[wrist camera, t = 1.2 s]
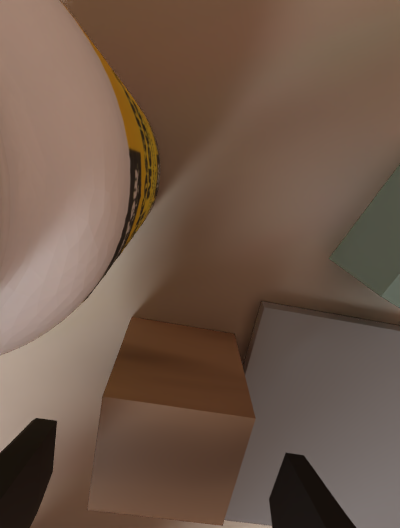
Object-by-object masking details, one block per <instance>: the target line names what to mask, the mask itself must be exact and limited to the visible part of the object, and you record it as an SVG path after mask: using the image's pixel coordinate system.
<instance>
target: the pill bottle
mask: <svg viewBox="0 0 400 528" xmlns="http://www.w3.org/2000/svg"><path fill="white" fill-rule="evenodd" d="M159 182H160V156H159V150H158V146H157V142H156V139H155V136H154V133H153V131H152V128H151V126H150V124H149V122H148V120H147V118H146V116H145V115H144V113H143V112H142V110H141V109H140V107H139V106H138V104H137V103H136V102H135V100H134V99H133V97H132V96H131V95H130V93H129V92H128V90H127V89H126V88H125V86H124V85H123V83H122V82H121V81H120V79H119V78H118V77H117V75H116V74H115V73H114V71H113V70H112V69H111V67H110V66H109V65H108V63H107V62H106V60H105V59H104V57H103V56H102V55H101V53H100V52H99V51H98V50H97V48H96V47H95V46H94V44H93V43H92V42H91V40H90V39H89V38H88V36H87V35H86V33H85V32H84V31H83V29H82V28H81V27H80V25H79V24H78V23H77V21H76V20H75V19H74V17H73V16H72V15H71V13H70V12H69V11H68V10H67V8H66V7H65V6H64V5H63V4H62V2H61V1H60V0H0V355H2V354H5V353H8V352H10V351H12V350H15V349H17V348H20V347H22V346H24V345H26V344H28V343H30V342H32V341H34V340H35V339H37V338H38V337H40V336H42V335H43V334H45V333H46V332H48V331H49V330H51V329H52V328H53V327H55V326H56V325H57V324H59V323H60V322H61V321H63V320H64V319H65V318H66V317H67V316H69V315H70V314H71V313H72V312H73V311H74V310H75V309H76V308H77V307H78V306H79V305H80V304H81V303H82V302H83V301H85V300H86V299H87V298H88V297H89V295H90V294H91V293H92V291H93V290H94V289H95V287H96V286H97V285H98V284H99V282H100V281H101V280H102V278H103V277H104V276H105V275H106V273H107V271H108V270H109V269H110V267H111V266H112V264H113V263H114V262H115V260H116V259H117V258H118V257H119V256H120V254H121V253H122V251H123V249H124V248H125V247H126V246H127V244H128V243H129V242H130V240H131V239H132V237H133V236H134V234H135V233H136V232H137V230H138V229H139V228H140V226H141V225H142V224H143V222H144V221H145V219H146V218H147V216H148V214H149V213H150V211H151V209H152V206H153V204H154V201H155V199H156V196H157V192H158V188H159Z"/></svg>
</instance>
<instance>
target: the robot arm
mask: <svg viewBox="0 0 400 528" xmlns="http://www.w3.org/2000/svg"><path fill="white" fill-rule="evenodd" d="M56 425H57V421H54V420H47V419H39V418H36V419H34V420H32V421H31V422H30V424H29V425H28V426H27V427H26V428H25V429H24V430H23V431H22V432H21V433H20V434H19V435H18V436H17V437H16V438H15V439H14V440H13V441H12V442H11V443H10V444H9V445H8V446H7V447H6V448H5V449H4V450H3V451H1V452H0V528H30V526H31V524H32V522H33V520H34V518H35V516H36V514H37V512H38V509H39V507H40V504H41V501H42V499H43V496H44V493H45V491H46V488H47V485H48V483H49V480H50V477H51V474H52V472H53V460H54V448H55V437H56ZM269 504H270V512H271V521H272V528H356V526H355V525H354V524H353V523H352V521H351V520H350V518H349V517H348V516H347V514H346V513H345V512H344V510H343V509H342V508H341V506H340V505H339V504H338V502H337V501H336V499H335V498H334V497H333V495H332V494H331V492H330V491H329V490H328V488H327V487H326V485H325V484H324V483H323V481H322V480H321V478H320V477H319V476H318V474H317V473H316V471H315V470H314V468H313V467H312V466H311V464H310V463H309V461H308V460H307V459H306V457H305V456H304V455H299V454H292V453H285V456H284V459H283V461H282V464H281V467H280V470H279V473H278V475H277V478H276V481H275V484H274V486H273V489H272V492H271V495H270V497H269Z"/></svg>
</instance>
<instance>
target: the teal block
mask: <svg viewBox="0 0 400 528" xmlns="http://www.w3.org/2000/svg"><path fill="white" fill-rule="evenodd" d="M329 259H330V260H332V261H333V262H334V263H336V264H337V265H339V266H340V267H341V268H343V269H344V270H345V271H347V272H348V273H350V274H351V275H352V276H354V277H355V278H356V279H358V280H359V281H360V282H362V283H363V284H365V285H366V286H367V287H369V288H370V289H371V290H373V291H374V292H375V293H377V294H378V295H380V296H381V297H383V298H384V299H386V300H387V301H389V302H391V303H392V304H394V305H395V306H397V307H399V308H400V165H399V166H398V167H397V169H396V170H395V171H394V173H393V174H392V175H391V177H390V178H389V179H388V181H387V182H386V183H385V185H384V186H383V187H382V189H381V190H380V191H379V193H378V194H377V195H376V197H375V198H374V199H373V200H372V202H371V203H370V204H369V206H368V207H367V208H366V210H365V211H364V212H363V214H362V215H361V216H360V218H359V219H358V220H357V222H356V223H355V224H354V226H353V227H352V228H351V230H350V231H349V232H348V234H347V235H346V236H345V238H344V239H343V240H342V242H341V243H340V244H339V246H338V247H337V248H336V250H335V251H334V252H333V254H332V255H331V256H330V258H329Z"/></svg>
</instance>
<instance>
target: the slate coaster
mask: <svg viewBox="0 0 400 528" xmlns="http://www.w3.org/2000/svg"><path fill="white" fill-rule="evenodd" d="M243 370H244V374H245V378H246V382H247V386H248V390H249V394H250V398H251V402H252V406H253V410H254V414H255V418H256V419H255V422H254V426H253V429H252V432H251V435H250V438H249V442H248V445H247V448H246V451H245V455H244V458H243V461H242V464H241V467H240V471H239V474H238V477H237V480H236V484H235V487H234V490H233V493H232V497H231V500H230V503H229V506H228V509H227V513H226V516H225V519H224V520H227V521H236V522H244V523H253V524H261V525H270V526H272V521H271V512H270V504H269V497H270V495H271V492H272V489H273V486H274V484H275V481H276V478H277V475H278V473H279V470H280V467H281V464H282V461H283V459H284V456H285V453H292V454H299V455H304V456H305V457H306V459H307V460H308V461H309V463H310V464H311V466H312V467H313V468H314V470H315V471H316V473H317V474H318V476H319V477H320V478H321V480H322V481H323V483H324V484H325V485H326V487H327V488H328V490H329V491H330V492H331V494H332V495H333V497H334V498H335V499H336V501H337V502H338V504H339V505H340V506H341V508H342V509H343V510H344V512H345V513H346V514H347V516H348V517H349V518H350V520H351V521H352V523H353V524H354V525H355V526H356V528H400V326H399V325H393V324H388V323H382V322H376V321H371V320H365V319H359V318H354V317H348V316H342V315H337V314H331V313H325V312H320V311H314V310H308V309H303V308H297V307H291V306H286V305H280V304H274V303H269V302H263V301H261V304H260V308H259V312H258V315H257V319H256V322H255V326H254V329H253V333H252V337H251V340H250V344H249V347H248V351H247V354H246V358H245V362H244V365H243Z"/></svg>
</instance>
